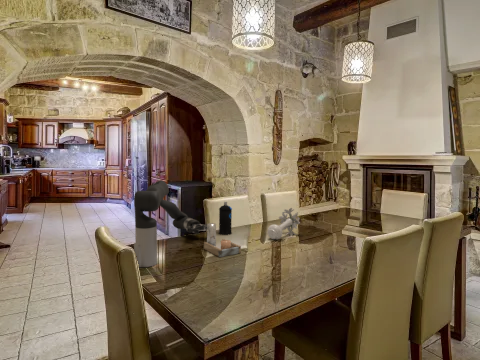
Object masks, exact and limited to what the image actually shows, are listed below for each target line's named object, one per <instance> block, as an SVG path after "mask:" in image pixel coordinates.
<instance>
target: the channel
mask: <svg viewBox="0 0 480 360" xmlns="http://www.w3.org/2000/svg"><path fill="white" fill-rule="evenodd" d="M222 240H226V239H225V238H222ZM222 240H221V241H222ZM203 249H204V250H205V251H207V252H208V253H211V254H213V255H215V256H216V257H219V258H222V257H228V256H232V255H233V256H234V255H237V254H241V253H242V252H241V250H242V246H240V245H239V244H236V243H235V242H231V248H228V249H223V250H221V248H219V247H218V246H213V245H211V244H209V243H207V241H205V242H203Z"/></svg>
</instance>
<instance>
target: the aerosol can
mask: <svg viewBox="0 0 480 360" xmlns="http://www.w3.org/2000/svg"><path fill="white" fill-rule="evenodd" d="M218 210H219V211H218V212H219V214H218V219H219V220H218V221H219V222H218V227H219V228H218V234H219V235H221V234H222V236H229V235H232V219H233V218H232V216H233V215H232V212H233V211H232V210H233V208H232V207H231V206H229V205H228V202H227V201H224V202H223V205H221V206H220V207H219V208H218ZM228 234H229V235H228Z"/></svg>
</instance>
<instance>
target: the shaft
mask: <svg viewBox="0 0 480 360" xmlns="http://www.w3.org/2000/svg"><path fill="white" fill-rule="evenodd" d="M206 224H207V230H206V242H207V243H209V244H211V245H213V246H215V247H217V224H216V223H213V222H209V223H206Z"/></svg>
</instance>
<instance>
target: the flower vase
mask: <svg viewBox="0 0 480 360" xmlns="http://www.w3.org/2000/svg"><path fill="white" fill-rule="evenodd" d="M293 211H295V209H293V208H292V207H290V208H289V209H285V208H284V209H283V211H282V213H281V216H278V219H279V220H280V224H276V223H275V224H270V225H269V226H268V228H267V235H268V237H269V238H270V239H272V240H280V239H281V238H282V236H283V230H286V229H287V231H288V232H287V233H285V235H289V236H290V237H293V235H294V236H298V234H297V233H295V232H294V229H298V225H299V224H300V223H301V222H300V219H301V218H300V217H299V216H298V212H295V214H292V212H293ZM288 215H289V217H288Z"/></svg>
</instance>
